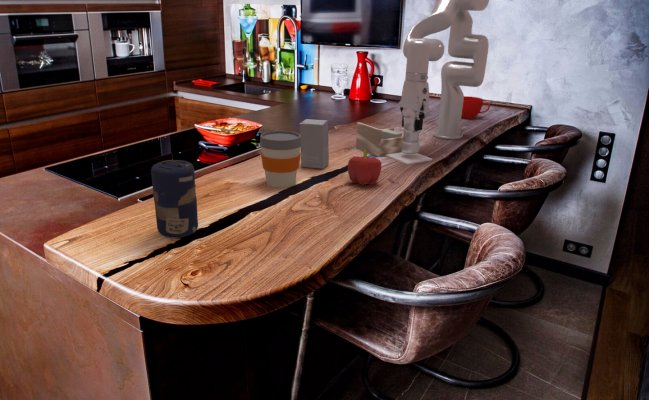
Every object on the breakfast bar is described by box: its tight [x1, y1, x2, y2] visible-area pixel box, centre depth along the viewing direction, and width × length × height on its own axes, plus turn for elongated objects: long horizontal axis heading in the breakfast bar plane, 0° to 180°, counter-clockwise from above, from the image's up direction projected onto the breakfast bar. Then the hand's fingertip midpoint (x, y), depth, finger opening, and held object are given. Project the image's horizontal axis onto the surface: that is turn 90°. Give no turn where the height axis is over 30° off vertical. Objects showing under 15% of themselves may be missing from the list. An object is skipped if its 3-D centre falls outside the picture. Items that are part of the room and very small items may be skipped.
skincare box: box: [299, 118, 330, 170], centre depth 167 cm, size 8×7×16 cm
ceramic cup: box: [461, 95, 491, 120], centre depth 250 cm, size 13×17×10 cm
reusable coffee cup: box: [259, 130, 302, 189], centre depth 150 cm, size 13×13×15 cm
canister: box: [150, 159, 199, 239], centre depth 115 cm, size 10×10×18 cm
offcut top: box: [381, 128, 403, 139], centre depth 192 cm, size 4×8×2 cm, turn 46°
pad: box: [385, 152, 433, 166], centre depth 182 cm, size 12×12×1 cm
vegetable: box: [347, 149, 382, 185], centre depth 153 cm, size 11×10×10 cm
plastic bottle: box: [401, 108, 421, 154], centre depth 177 cm, size 6×7×20 cm
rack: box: [355, 121, 403, 158], centre depth 191 cm, size 19×14×10 cm
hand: (411, 127), depth 178 cm, fingers closed on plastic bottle, 6 cm apart
